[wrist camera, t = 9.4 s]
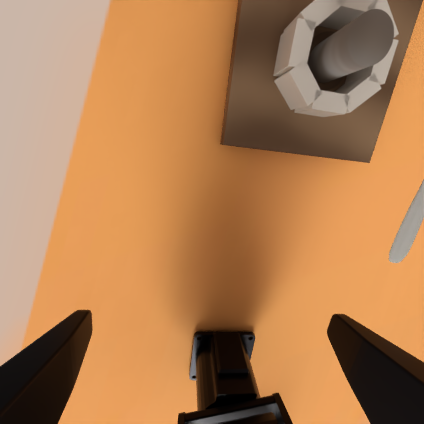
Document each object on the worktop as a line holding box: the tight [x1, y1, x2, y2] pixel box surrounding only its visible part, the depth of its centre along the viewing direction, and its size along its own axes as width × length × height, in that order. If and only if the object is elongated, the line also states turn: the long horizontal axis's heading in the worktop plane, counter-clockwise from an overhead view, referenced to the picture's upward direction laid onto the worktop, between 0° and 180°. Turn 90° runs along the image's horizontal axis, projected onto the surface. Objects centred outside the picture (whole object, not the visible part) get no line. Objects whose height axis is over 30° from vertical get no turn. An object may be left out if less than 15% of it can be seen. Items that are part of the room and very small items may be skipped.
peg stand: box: [220, 0, 423, 163], centre depth 14 cm, size 12×12×6 cm
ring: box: [273, 0, 399, 117], centre depth 14 cm, size 6×6×2 cm
